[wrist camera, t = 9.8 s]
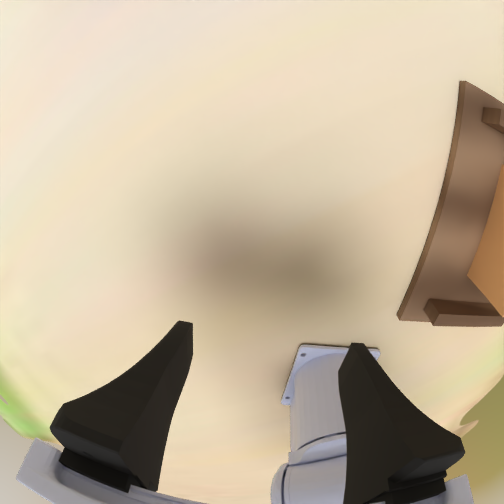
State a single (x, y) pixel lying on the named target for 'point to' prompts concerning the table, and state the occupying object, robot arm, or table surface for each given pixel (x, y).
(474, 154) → the walnut cradle
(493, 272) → the tall tan cuboid
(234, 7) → the table surface
